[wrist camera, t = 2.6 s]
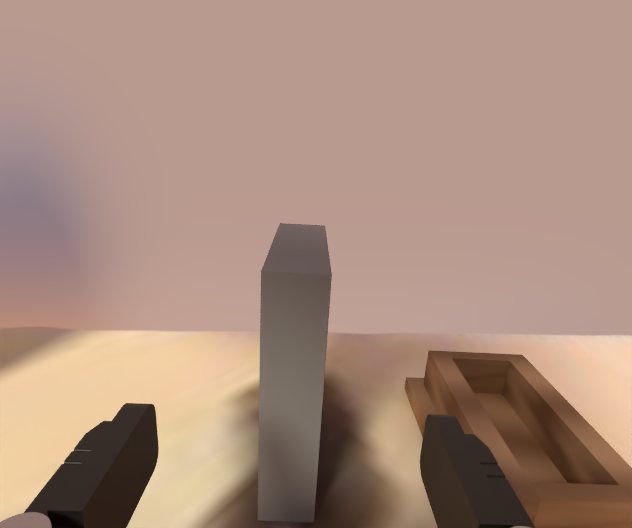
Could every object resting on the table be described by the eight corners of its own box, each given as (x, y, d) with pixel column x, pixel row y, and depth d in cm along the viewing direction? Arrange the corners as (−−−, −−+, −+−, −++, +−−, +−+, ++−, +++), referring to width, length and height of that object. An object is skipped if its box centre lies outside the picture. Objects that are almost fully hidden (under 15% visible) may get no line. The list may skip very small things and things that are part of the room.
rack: (678, 582, 19) (707, 519, 18) (473, 575, 19) (489, 511, 18) (522, 392, 34) (533, 350, 32) (404, 387, 33) (410, 345, 32)
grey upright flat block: (313, 522, 21) (331, 274, 17) (257, 520, 21) (261, 271, 17) (313, 403, 31) (324, 225, 27) (274, 401, 31) (279, 223, 26)
